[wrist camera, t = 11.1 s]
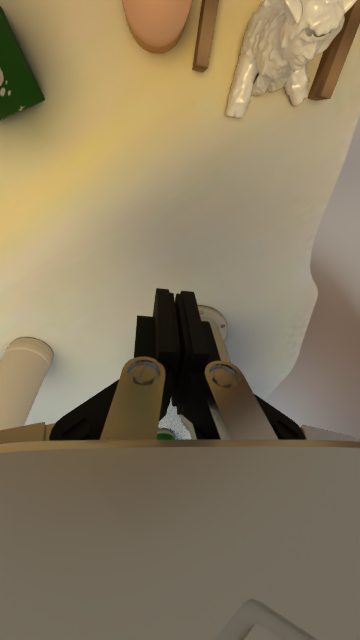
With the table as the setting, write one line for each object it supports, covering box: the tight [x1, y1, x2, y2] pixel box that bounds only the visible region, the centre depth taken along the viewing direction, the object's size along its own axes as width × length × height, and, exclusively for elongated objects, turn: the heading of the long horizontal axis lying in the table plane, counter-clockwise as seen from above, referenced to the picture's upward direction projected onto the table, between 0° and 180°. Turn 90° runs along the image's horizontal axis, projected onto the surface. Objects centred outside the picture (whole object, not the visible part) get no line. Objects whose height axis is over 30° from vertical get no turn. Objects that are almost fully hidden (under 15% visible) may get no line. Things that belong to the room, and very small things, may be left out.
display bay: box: [192, 0, 360, 101], centre depth 25 cm, size 11×15×3 cm
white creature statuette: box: [226, 0, 357, 118], centre depth 24 cm, size 10×9×12 cm
